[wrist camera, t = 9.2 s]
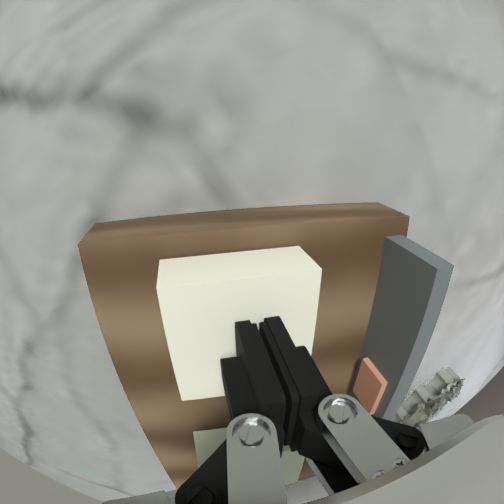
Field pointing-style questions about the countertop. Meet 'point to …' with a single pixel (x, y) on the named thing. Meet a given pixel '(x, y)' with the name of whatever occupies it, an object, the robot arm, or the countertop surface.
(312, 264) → the key cream
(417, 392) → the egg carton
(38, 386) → the countertop surface
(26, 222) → the countertop surface
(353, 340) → the keypad
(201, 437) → the key sage
